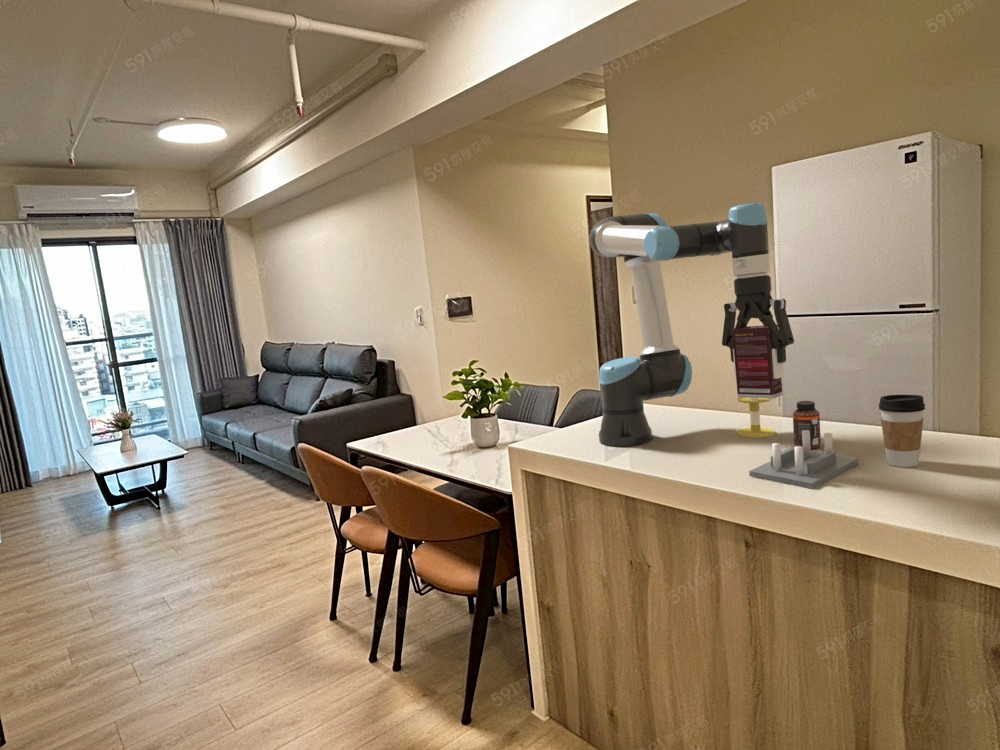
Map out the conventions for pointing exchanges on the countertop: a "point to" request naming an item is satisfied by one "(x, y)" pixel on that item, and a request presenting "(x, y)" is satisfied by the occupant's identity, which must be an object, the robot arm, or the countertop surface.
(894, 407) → the coffee cup
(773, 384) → the supplement box
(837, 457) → the grey pegged stand
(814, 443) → the supplement bottle
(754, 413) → the candle
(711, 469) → the countertop surface
